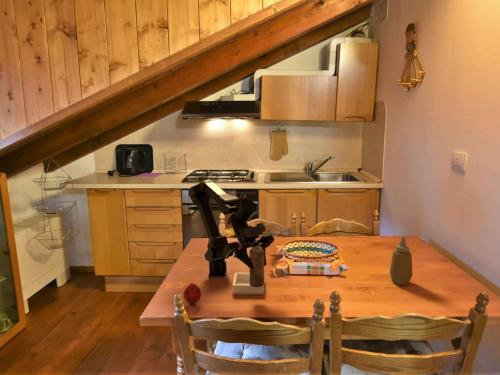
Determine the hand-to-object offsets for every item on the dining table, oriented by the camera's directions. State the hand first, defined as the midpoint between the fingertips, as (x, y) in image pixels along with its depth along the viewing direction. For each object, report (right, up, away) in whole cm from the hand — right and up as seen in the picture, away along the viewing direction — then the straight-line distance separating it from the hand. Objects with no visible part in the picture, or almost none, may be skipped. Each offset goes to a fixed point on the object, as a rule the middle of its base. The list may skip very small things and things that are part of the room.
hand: (259, 267), depth 126 cm
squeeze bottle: (+54, -9, +16) cm, 57 cm away
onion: (-23, -13, 0) cm, 26 cm away
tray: (-4, -10, +12) cm, 17 cm away
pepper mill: (-1, -6, +2) cm, 7 cm away
